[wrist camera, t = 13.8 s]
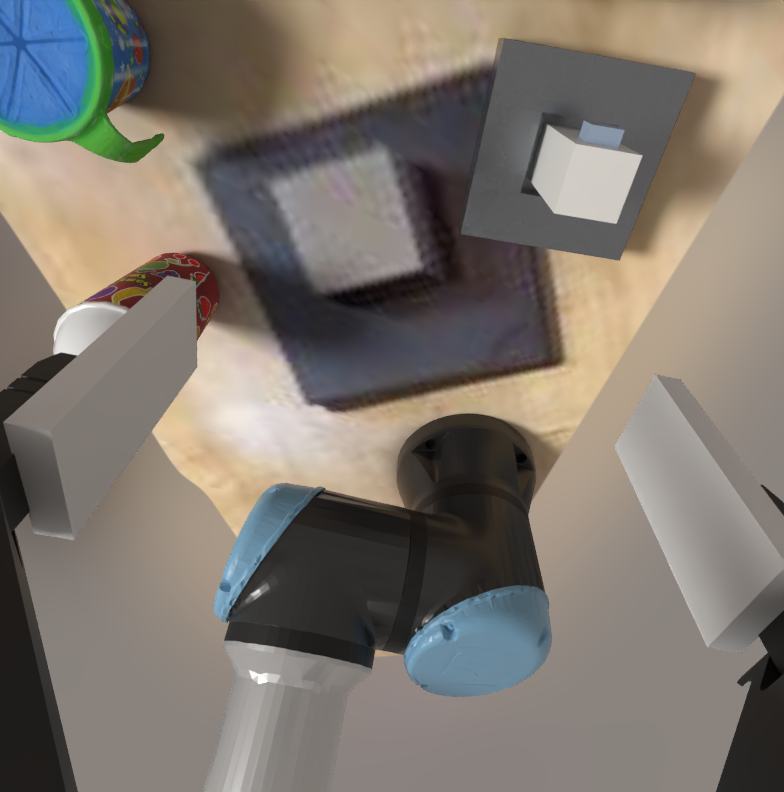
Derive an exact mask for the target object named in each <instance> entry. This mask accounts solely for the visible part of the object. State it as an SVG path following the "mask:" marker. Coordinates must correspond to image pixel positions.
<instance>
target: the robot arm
mask: <svg viewBox="0 0 784 792" xmlns="http://www.w3.org/2000/svg"><path fill="white" fill-rule="evenodd" d="M196 368H197V322H196V281H192V280H187V279H182V278H177V277H172V276H166V277H165V278H164V279H163V280H162V281H161V282H160V283H159V284H157V285H156V286H155V287H154V288H153V289H152V290H151V291H150V292H148V293H147V294H146V295H145V296H144V297H143V298H142V299H141V300H139V301H138V302H137V303H136V304H135V305H134V306H133V307H132V308H131V309H129V310H128V311H127V312H126V313H125V314H124V315H123V316H122V317H120V318H119V319H118V320H117V321H116V322H115V323H114V324H113V325H112V326H110V327H109V328H108V329H107V330H106V331H105V332H104V333H103V334H101V335H100V336H99V337H98V338H97V339H96V340H95V341H94V342H92V343H91V344H90V345H89V346H88V347H87V348H86V349H85V350H84V351H82V352H81V353H80V354H79V355H72V354H67V353H62V352H60V353H58V354H56V355H53V356H51V357H49V358H46V359H44V360H41V361H39V362H37V363H36V364H34V365H33V366H32V367H31V368H29V369H28V370H27V371H26V372H25V373H23V374H22V375H21V378H17V379H16V380H15V381H14V382H12V383H11V384H10V385H9V386H8V388H7V390H6V389H4V390H3V391H1V392H0V792H78V791H77V787H76V782H75V778H74V774H73V770H72V766H71V761H70V757H69V753H68V749H67V745H66V740H65V736H64V732H63V728H62V724H61V720H60V715H59V711H58V707H57V703H56V698H55V695H54V690H53V686H52V682H51V677H50V673H49V669H48V665H47V661H46V657H45V652H44V648H43V644H42V640H41V636H40V632H39V628H38V623H37V619H36V615H35V611H34V606H33V602H32V598H31V594H30V590H29V585H28V581H27V577H26V573H25V569H24V564H23V560H22V556H21V552H20V547H19V544H18V539H17V536H16V533H15V528H16V527H17V525H18V524H19V523H20V522H21V521H22V520H23V519H24V517H25V516H26V515H27V514H28V513H29V517H30V520H31V524H32V527H33V531H34V533H36V534H42V535H48V536H54V537H60V538H65V539H72V540H74V539H75V538H76V537H77V535H78V534H79V532H80V531H81V530H82V528H83V527H84V525H85V524H86V523H87V521H88V520H89V518H90V517H91V516H92V514H93V513H94V511H95V510H96V508H97V507H98V506H99V504H100V503H101V501H102V500H103V499H104V497H105V496H106V494H107V493H108V492H109V490H110V489H111V487H112V486H113V485H114V483H115V482H116V480H117V479H118V478H119V476H120V475H121V473H122V472H123V470H124V469H125V468H126V466H127V465H128V463H129V462H130V461H131V459H132V458H133V456H134V455H135V454H136V452H137V451H138V449H139V448H140V447H141V445H142V444H143V442H144V441H145V439H146V438H147V436H148V435H149V434H150V433H151V431H152V430H153V428H154V427H155V426H156V424H157V423H158V421H159V420H160V418H161V417H162V416H163V414H164V413H165V411H166V410H167V409H168V407H169V406H170V404H171V403H172V402H173V400H174V399H175V397H176V396H177V395H178V393H179V392H180V390H181V389H182V388H183V386H184V385H185V383H186V382H187V381H188V379H189V378H190V376H191V375H192V373H193V372H194V371H195V369H196ZM615 450H616V452H617V454H618V456H619V458H620V460H621V462H622V465H623V467H624V469H625V471H626V473H627V476H628V478H629V480H630V482H631V484H632V486H633V488H634V491H635V493H636V495H637V497H638V499H639V501H640V503H641V506H642V508H643V510H644V512H645V514H646V516H647V519H648V521H649V523H650V525H651V527H652V529H653V531H654V534H655V536H656V538H657V540H658V542H659V544H660V546H661V549H662V551H663V553H664V555H665V557H666V559H667V562H668V564H669V566H670V568H671V570H672V572H673V575H674V577H675V579H676V581H677V583H678V585H679V587H680V590H681V592H682V594H683V596H684V598H685V600H686V602H687V605H688V607H689V609H690V611H691V613H692V615H693V618H694V620H695V622H696V624H697V626H698V628H699V631H700V632H701V635H702V637H703V639H704V641H705V643H706V646H707V647H708V648H714V649H720V650H725V651H732V652H737V653H742V652H743V651H744V650H745V649H746V648H747V647H748V646H749V645H750V644H752V642H754V641H755V640H756V639H757V638H758V637H760V639H761V640H762V643H763V644H764V646H765V648H766V650H767V651H768V653H767V654H766V655H765V656H764V657H763V658H762V659H761V660H759V661H758V662H757V663H756V664H755V665H754V666H753V667H752V668H751V669H750V670H748V671H747V672H746V673H745V674H744V675H743V676H742V677H741V678H740V679H739V680H738V682H737V683H738V684H740V685H741V686H743V685H744V684H745V683H746V682H748V681H752V682H751V685H750V689H749V691H748V694H747V698H746V701H745V704H744V707H743V710H742V713H741V716H740V719H739V722H738V725H737V729H736V732H735V735H734V738H733V741H732V744H731V747H730V750H729V753H728V757H727V760H726V763H725V766H724V769H723V772H722V775H721V778H720V781H719V784H718V787H717V790H716V792H784V503H783V502H782V501H781V500H780V499H779V498H778V497H776V496H775V495H774V494H773V493H772V492H770V491H769V490H768V489H767V488H766V487H765V486H763V485H760V484H759V483H758V482H757V480H756V479H755V477H754V476H753V475H752V473H751V472H750V471H749V469H748V468H747V467H746V465H745V464H744V463H743V461H742V460H741V459H740V457H739V456H738V455H737V453H736V452H735V451H734V449H733V448H732V447H731V446H730V444H729V443H728V442H727V440H726V439H725V438H724V436H723V435H722V434H721V432H720V431H719V430H718V428H717V427H716V426H715V425H714V423H713V422H712V421H711V419H710V418H709V416H708V415H707V414H706V413H705V411H704V410H703V408H702V407H701V406H700V404H699V403H698V402H697V401H696V399H695V398H694V397H693V395H692V394H691V393H690V391H689V390H688V389H687V388H686V386H685V385H684V383H683V382H682V381H681V379H675V378H671V377H666V376H660V375H655V376H654V378H653V379H652V381H651V383H650V385H649V387H648V388H647V390H646V392H645V394H644V395H643V397H642V399H641V401H640V402H639V405H638V406H637V408H636V410H635V411H634V413H633V415H632V417H631V419H630V420H629V422H628V424H627V426H626V427H625V429H624V431H623V433H622V435H621V436H620V438H619V440H618V442H617V443H616V445H615ZM535 479H536V473H535V466H534V462H533V458H532V454H531V450H530V448H529V446H528V444H527V442H526V441H525V439H524V438H523V437H522V436H521V435H520V434H519V433H518V432H517V431H516V430H515V429H514V428H512V427H511V426H509V425H507V424H506V423H504V422H502V421H499V420H497V419H494V418H491V417H487V416H482V415H474V414H460V415H452V416H447V417H443V418H440V419H437V420H434V421H432V422H430V423H428V424H426V425H424V426H422V427H421V428H419V429H418V430H417V431H415V432H414V433H413V434H412V435H411V436H410V437H409V438H408V439H407V441H406V442H405V443H404V445H403V447H402V449H401V451H400V454H399V457H398V463H397V486H398V490H399V493H400V496H401V498H402V501H403V503H404V506H405V508H402V507H398V506H393V505H389V504H384V503H380V502H375V501H371V500H366V499H362V498H357V497H353V496H349V495H344V494H340V493H336V492H332V491H328V490H326V489H325V488H323V487H317V488H313V487H307V486H301V485H294V484H289V483H280V484H276V485H273V486H271V487H270V488H268V489H267V490H266V491H265V492H264V493H263V494H262V495H261V496H260V498H259V499H258V501H257V502H256V504H255V505H254V507H253V509H252V510H251V512H250V514H249V516H248V518H247V520H246V521H245V523H244V525H243V527H242V529H241V532H240V534H239V536H238V538H237V541H236V542H235V545H234V547H233V550H232V552H231V554H230V557H229V559H228V561H227V564H226V567H225V570H224V572H223V579H222V580H221V583H220V586H219V588H218V591H217V593H216V597H215V601H214V613H215V615H216V617H218V618H220V619H221V621H222V622H228V621H229V626H228V630H227V633H226V636H225V639H224V643H223V648H224V650H225V651H226V654H227V655H228V658H229V660H230V662H231V663H232V665H233V668H234V673H235V678H234V682H233V686H232V689H231V693H230V696H229V700H228V704H227V707H226V711H225V714H224V718H223V722H222V725H221V729H220V733H219V737H218V740H217V743H216V747H215V750H214V754H213V758H212V762H211V765H210V769H209V772H208V776H207V780H206V783H205V787H204V790H203V792H330V791H331V785H332V780H333V774H334V768H335V763H336V757H337V751H338V746H339V740H340V734H341V729H342V723H343V718H344V712H345V706H346V701H347V696H348V695H349V694H350V692H351V691H352V690H353V689H354V688H355V687H356V686H357V685H359V684H360V683H361V682H362V681H363V680H365V679H366V678H367V677H368V676H369V675H371V672H372V665H373V660H374V654H375V650H383V651H388V652H393V653H398V654H402V655H404V665H405V668H406V670H407V673H408V675H409V677H410V678H411V680H412V681H413V682H414V683H415V684H416V685H420V686H421V688H423V689H424V690H426V691H428V692H431V693H434V694H438V695H443V696H452V697H471V696H479V695H486V694H490V693H495V692H498V691H501V690H503V689H506V688H509V687H512V686H514V685H516V684H518V683H520V682H522V681H524V680H525V679H527V678H528V677H530V676H531V675H532V674H534V673H535V672H536V671H537V670H538V669H539V668H540V667H541V666H542V664H543V663H544V662H545V660H546V658H547V656H548V654H549V652H550V648H551V643H552V634H551V625H550V618H549V600H548V597H547V595H546V594H545V591H544V586H543V581H542V577H541V572H540V568H539V564H538V559H537V555H536V550H535V545H534V541H533V537H532V532H531V528H530V523H529V518H528V513H529V509H530V504H531V500H532V495H533V491H534V486H535Z"/></svg>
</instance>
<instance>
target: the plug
mask: <svg viewBox="0 0 784 792" xmlns="http://www.w3.org/2000/svg"><path fill="white" fill-rule="evenodd" d="M624 131H625V130H623V129H621V128H619V127H617V126H614V125H608V124H602V123H596V122H591V121H585V120H584V121H583V125H582V128H575V127H569V126H564V125H558V124H552V123H546V122H544V125H543V128H542V132H541V136H540V139H539V143H538V146H537V150H536V154H535V157H534V161H533V164H532V168H531V172H530V175H529V180H530V182H531V183H532V184H533V186H534V187H535V188H536V190H537V191H538V192H539V194H540V195H541V196H542V198H543V199H544V201H545V202H546V203H547V205H548V206H549V207H550V209H551V210H552V211H553V213H555V214H561V215H567V216H572V217H578V218H584V219H590V220H596V221H602V222H608V223H614V224H616V223H617V221H618V218H619V216H620V213H621V210H622V208H623V205H624V203H625V200H626V197H627V195H628V192H629V190H630V187H631V184H632V182H633V179H634V177H635V174H636V171H637V169H638V166H639V164H640V161H641V158H642V156H643V155H641V154H639V153H637V152H635V151H633V150H631V149H629V148H628V147H626V146H624V145H622V144H620V142H621V139H622V136H623V134H624Z"/></svg>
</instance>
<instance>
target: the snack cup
mask: <svg viewBox="0 0 784 792" xmlns="http://www.w3.org/2000/svg"><path fill="white" fill-rule="evenodd" d="M149 65H150V60H149V41H148V39H147V35H146V33H145V31H144V30H143V28H142V26H141V24H140V21H139V18H138V17H137V15H136V13H135V12H134V11H133V9H132V8H131V7H130V6H129V5H128V4H127V2H126V1H125V0H0V130H2V131H3V132H5V133H6V134H8V135H10V136H13V137H18V138H20V139H24V140H28V141H33V142H58V141H64V140H67V141H72V142H75V143H76V144H78V145H80V146H82V147H83V148H85V149H87V150H89V151H91V152H93V153H95V154H98V155H100V156H102V157H104V158H107V159H111V160H114V161H118V162H126V163H134V162H137V161H139V160H140V159H141V158H143V157H144V156H145V155H146V154H147V153H149V152H150V151H151V150H152V149H154V148H155V147H156V146H157V145H158V144H159V143H160V142H161V141H162V140H163V139H164V134H157V135H155V136H154V137H153V138H152V139H147V140H143V141H138V142H134V143H132V142H131V141H129V140H128V139H127V138H125V137H124V136H123V135H122V134H120V133H119V132H118V130H117V129H116V128H115V127H114V126H113V124H112V123H111V122H110V120H109V117H108V116H107V113H109V112H110V111H112V110H114V109H115V108H117V107H119V106H121V105H122V104H123V103H125V102H126V101H128V100H130V99H131V98H132V97H134V96H135V95H136V94H137V93H138V92H139V91H140V90H141V89H142V85H143V83H144V82H145V79H146V77H147V74H148V70H149Z"/></svg>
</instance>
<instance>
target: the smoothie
mask: <svg viewBox="0 0 784 792" xmlns="http://www.w3.org/2000/svg"><path fill="white" fill-rule="evenodd" d="M166 276H172V277H177V278H182V279H187V280H192V281H196V322H197V340H198V338H199V337H200V335H201V334H202V332H203V330H204V329H205V327H206V325H207V324H208V322H209V320H210V319H211V317H212V316H213V314H214V312H215V310H216V308H217V306H218V302H219V292H218V288H217V284H216V281H215V278H214V276H213V274H212V273H211V271H210V270H209V269H208V268H207V267H206V266H205V265H204V264H203V263H202V262H201V261H199V260H197V259H195V258H193V257H191V256H187V255H183V254H178V253H165V254H162V255H160V256H157V257H155V258H153V259H152V260H150V261H149V262H147V263H145V264H144V265H142V266H140V267H139V268H137V269H135V270H134V271H132V272H131V273H129V274H127V275H126V276H124V277H122V278H121V279H119V280H117V281H116V282H114V283H113V284H111V285H109V286H108V287H106V288H104V289H103V290H101V291H99V292H98V293H96V294H95V295H93V296H91V297H90V298H88V299H86V300H85V301H83V302H81V303H80V304H78V305H77V306H74V307H72V308H69V309H68V310H67V311H66V312H65V313H64V314H63V315H62V316H61V317H60V318H59V319H58V322H57V325H56V328H55V331H54V342H55V343H54V347H53V353H54V355H56V354H58V353H60V352H62V353H67V354H72V355H79V354H80V353H81V352H82V351H84V350H85V349H86V348H87V347H88V346H89V345H90V344H91V343H92V342H94V341H95V340H96V339H97V338H98V337H99V336H100V335H101V334H103V333H104V332H105V331H106V330H107V329H108V328H109V327H110V326H112V325H113V324H114V323H115V322H116V321H117V320H118V319H119V318H120V317H122V316H123V315H124V314H125V313H126V312H127V311H128V310H129V309H131V308H132V307H133V306H134V305H135V304H136V303H137V302H138V301H139V300H141V299H142V298H143V297H144V296H145V295H146V294H147V293H148V292H150V291H151V290H152V289H153V288H154V287H155V286H156V285H157V284H159V283H160V282H161V281H162V280H163V279H164V278H165V277H166Z"/></svg>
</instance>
